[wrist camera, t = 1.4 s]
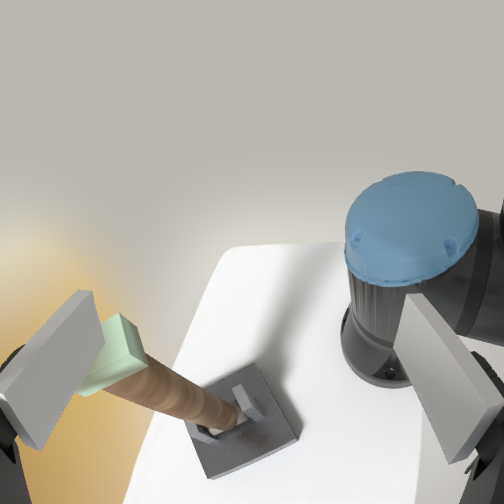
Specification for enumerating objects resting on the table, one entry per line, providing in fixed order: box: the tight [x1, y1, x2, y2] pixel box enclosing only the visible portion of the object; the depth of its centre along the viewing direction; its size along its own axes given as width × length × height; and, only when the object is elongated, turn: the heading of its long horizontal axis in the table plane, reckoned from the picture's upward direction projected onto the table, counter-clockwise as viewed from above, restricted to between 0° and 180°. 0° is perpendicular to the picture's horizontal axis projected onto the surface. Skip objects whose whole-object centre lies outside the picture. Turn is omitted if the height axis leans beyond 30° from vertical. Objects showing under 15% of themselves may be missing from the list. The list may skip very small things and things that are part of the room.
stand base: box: [184, 363, 298, 480], centre depth 35 cm, size 12×12×7 cm
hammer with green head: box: [75, 313, 249, 435], centre depth 26 cm, size 5×4×26 cm
